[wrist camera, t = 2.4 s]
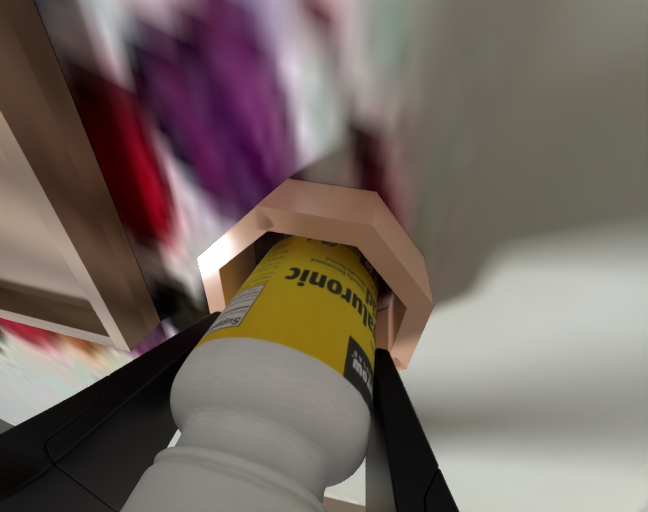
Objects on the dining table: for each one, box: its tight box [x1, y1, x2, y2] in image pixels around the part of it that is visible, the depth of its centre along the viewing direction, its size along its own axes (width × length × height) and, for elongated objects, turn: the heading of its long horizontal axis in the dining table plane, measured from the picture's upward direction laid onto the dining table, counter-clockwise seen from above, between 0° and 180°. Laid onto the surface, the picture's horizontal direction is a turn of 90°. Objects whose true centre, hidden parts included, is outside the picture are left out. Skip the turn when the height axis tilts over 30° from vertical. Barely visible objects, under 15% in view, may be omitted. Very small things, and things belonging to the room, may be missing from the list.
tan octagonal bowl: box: [198, 178, 434, 371], centre depth 11 cm, size 9×9×3 cm
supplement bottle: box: [120, 234, 378, 512], centre depth 8 cm, size 5×5×10 cm
